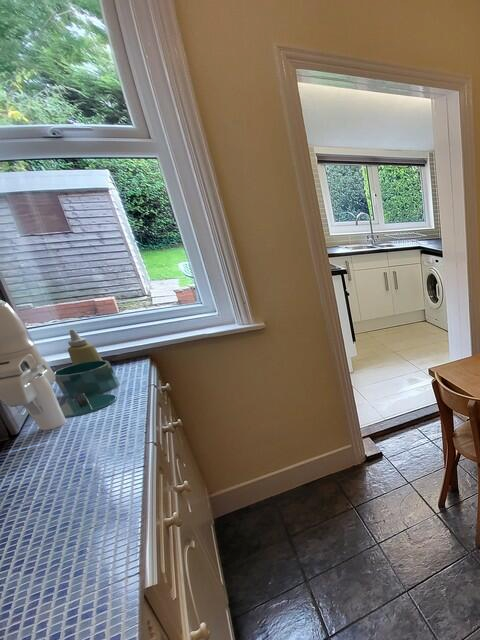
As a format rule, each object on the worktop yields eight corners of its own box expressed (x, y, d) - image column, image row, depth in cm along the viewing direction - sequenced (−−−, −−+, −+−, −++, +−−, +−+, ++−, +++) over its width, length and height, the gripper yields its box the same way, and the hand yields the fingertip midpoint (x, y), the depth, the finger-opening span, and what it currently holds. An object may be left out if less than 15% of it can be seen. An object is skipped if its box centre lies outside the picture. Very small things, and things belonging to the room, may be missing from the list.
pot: (58, 404, 128) (44, 379, 125) (73, 389, 139) (60, 366, 135) (114, 393, 134) (102, 369, 131) (124, 380, 145) (113, 357, 141)
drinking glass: (46, 434, 110) (16, 384, 104) (31, 431, 112) (1, 381, 106) (77, 422, 116) (50, 373, 110) (62, 419, 118) (35, 371, 112)
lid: (44, 424, 116) (35, 410, 114) (62, 405, 127) (55, 391, 125) (110, 410, 122) (103, 396, 120) (122, 393, 134) (116, 380, 132)
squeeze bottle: (111, 371, 153) (88, 325, 146) (109, 377, 147) (86, 329, 140) (81, 377, 148) (57, 330, 141) (79, 384, 143) (53, 334, 135)
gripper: (17, 352, 113) (43, 397, 118) (-22, 376, 97) (10, 426, 102) (48, 347, 116) (72, 391, 121) (15, 370, 99) (45, 419, 105)
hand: (43, 408), depth 112 cm, fingers closed on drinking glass, 6 cm apart
